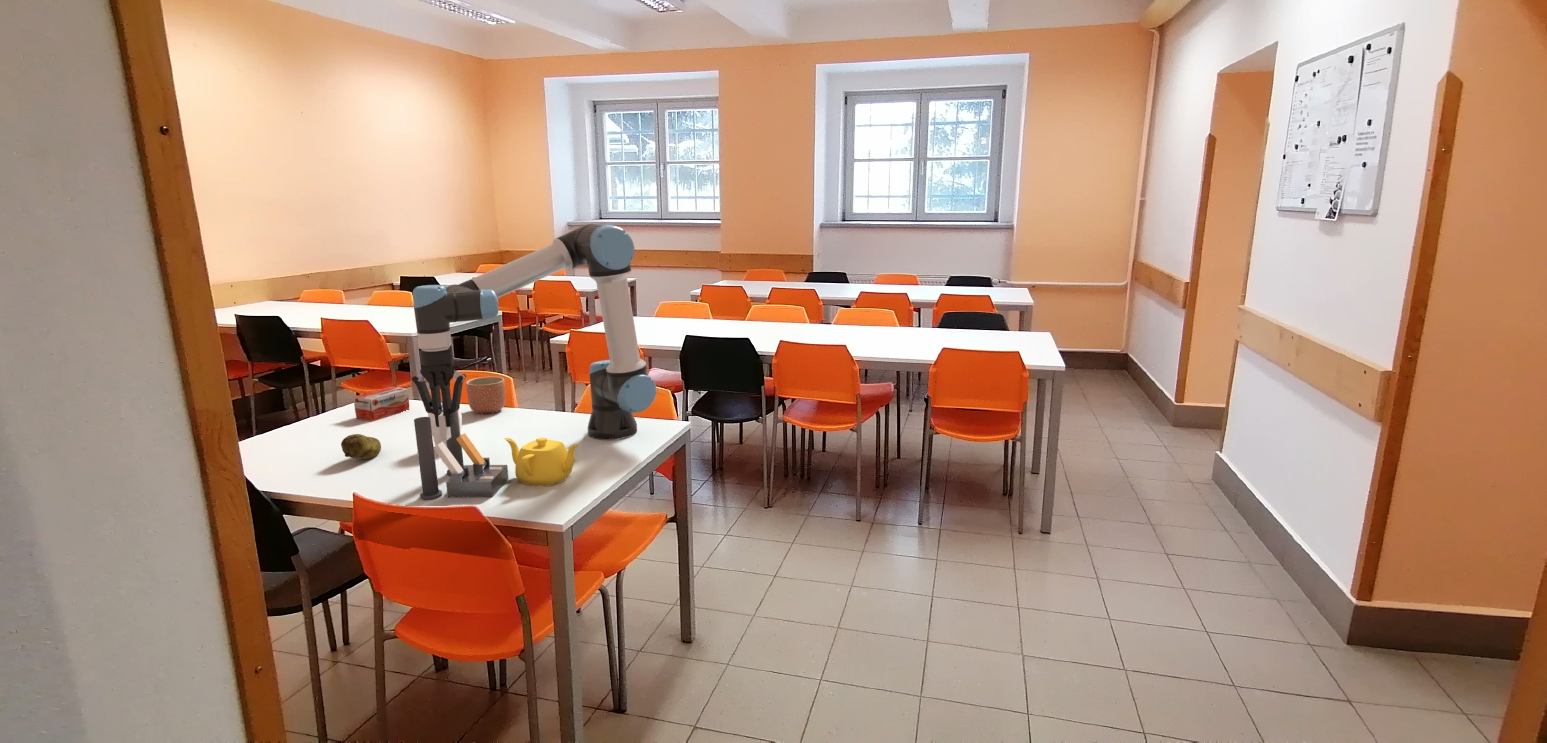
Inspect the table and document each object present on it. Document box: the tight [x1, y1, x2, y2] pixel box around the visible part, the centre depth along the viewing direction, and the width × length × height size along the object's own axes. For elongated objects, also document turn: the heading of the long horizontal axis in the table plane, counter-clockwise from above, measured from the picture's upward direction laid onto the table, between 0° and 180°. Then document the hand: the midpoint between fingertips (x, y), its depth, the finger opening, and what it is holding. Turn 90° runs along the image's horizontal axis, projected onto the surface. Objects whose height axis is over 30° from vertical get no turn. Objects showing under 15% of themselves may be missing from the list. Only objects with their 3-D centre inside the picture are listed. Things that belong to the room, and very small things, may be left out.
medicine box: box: [353, 386, 410, 422], centre depth 256 cm, size 15×8×8 cm, turn 156°
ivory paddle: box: [433, 441, 466, 477], centre depth 186 cm, size 2×3×10 cm, turn 179°
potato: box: [340, 433, 382, 460], centre depth 213 cm, size 8×13×8 cm, turn 158°
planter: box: [465, 376, 506, 415], centre depth 259 cm, size 12×12×11 cm
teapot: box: [504, 437, 580, 486], centre depth 196 cm, size 22×16×11 cm
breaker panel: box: [445, 457, 510, 498], centre depth 191 cm, size 11×12×6 cm
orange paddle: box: [456, 432, 487, 467], centre depth 193 cm, size 2×3×10 cm, turn 179°
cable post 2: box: [441, 398, 465, 477], centre depth 200 cm, size 5×5×20 cm
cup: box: [427, 406, 463, 447], centre depth 222 cm, size 9×9×12 cm
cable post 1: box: [413, 416, 443, 501], centre depth 185 cm, size 5×5×20 cm
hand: (446, 438), depth 192 cm, fingers closed
